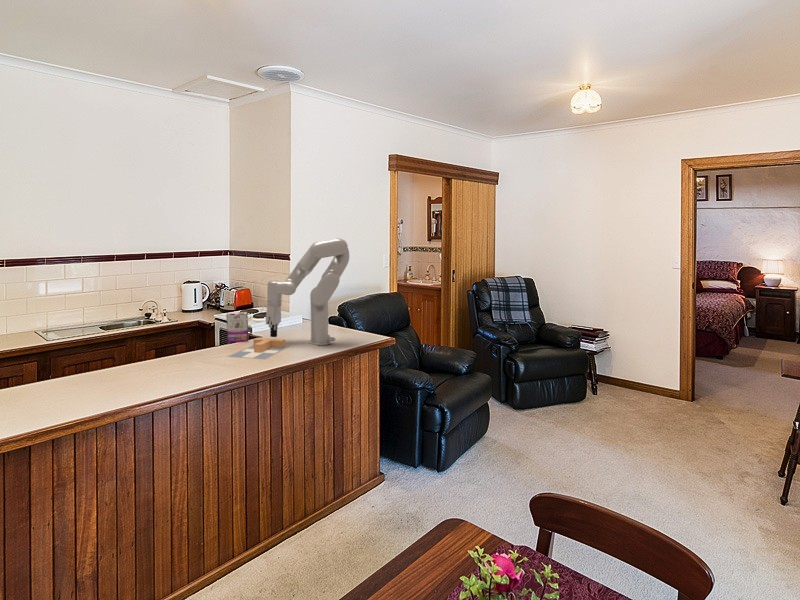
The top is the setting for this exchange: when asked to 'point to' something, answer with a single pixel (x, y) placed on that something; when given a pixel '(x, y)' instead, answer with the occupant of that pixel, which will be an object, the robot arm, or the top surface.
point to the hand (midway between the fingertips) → (273, 336)
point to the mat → (257, 353)
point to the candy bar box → (237, 327)
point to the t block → (267, 344)
